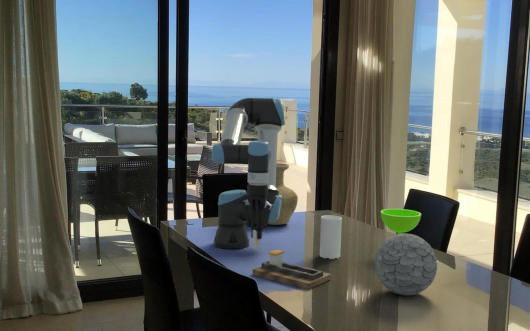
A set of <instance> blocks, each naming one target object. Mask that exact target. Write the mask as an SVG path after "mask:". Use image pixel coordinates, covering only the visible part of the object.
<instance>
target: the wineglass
mask: <svg viewBox="0 0 530 331" xmlns="http://www.w3.org/2000/svg"><path fill="white" fill-rule="evenodd" d="M380 216H381V220H382V223H383V224H384V225H385V227H387V229H389V230H390V231H393V232H395V233H396V235H397V234H405V233H407V232H410V231H412V230H413V229H415V228H416V227H417V226H418V225H419V223H420V221H421V217H422V213H421V212H419V211H416V210H412V209H405V208H404V209H403V208H386V209H381V210H380Z"/></svg>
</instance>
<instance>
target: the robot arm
mask: <svg viewBox="0 0 530 331" xmlns="http://www.w3.org/2000/svg"><path fill="white" fill-rule="evenodd" d="M284 112H285V110H284V102H283V100H282V99H281V98H273V97H271V98H270V97H268V98H267V97H264V98H263V97H244V98H242V99H240V100H238V101H236V102H234V103H232V105H231V106H230V107H229V108H228V110H227V111H226V116H225V121H226V123H225V126H224V129H223V134H222V136H221V141H220V143H219V142H218V143H215V144H213V145H212V148H211V159H212V162H213V163H214V164H220V165H246V166H247V183H248V184H247V187H246V188H247V190H245V189H233V190H227V191H224V192H223V191H222V192H221V193H220V194H219V196H218V202H217V205H218V208H217V210H218V214H217V215H218V217H217V218H218V219H217V221H218V222H217V230H216V233H215V234H214V238H213V246H214V247H216V248H219V249H227V250H230V249H231V250H239V249H245V248H247V247H249V246H250V238H249V235H248V231H247V228H249V229H250V230H251V234H250V235H251V239H252V249H258V248H259V249H260V248H261V239H262V238H263V230H266V229H267V228H268V226H269V224H268V222H276V221H277V220H278V218H279V214H280V209H281V202H282V195H279V190H278V189H277V188H276V164H277V163H278V162H277V161H278V160H277V157H278V137H279V136H278V135H279V132H281V130H282V126H285V125H286V123H285V122H286V121H285V113H284ZM246 125H253V126H254V129H255V131H257V140H253V141H252V140H251V141H249V142H248V144H241V141H242V138H243V133H244V129H245V127H246ZM246 227H247V228H246Z"/></svg>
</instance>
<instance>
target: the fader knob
mask: <svg viewBox="0 0 530 331" xmlns="http://www.w3.org/2000/svg"><path fill="white" fill-rule="evenodd" d="M284 253H285V251H284V250H281V249H280V250H279V249H273V250H271V251H268V255H269V256H268V261H269V264H272V265H276V266H280V267H282V262H283V261H284V260H283V258H284V257H283V256H284Z"/></svg>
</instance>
